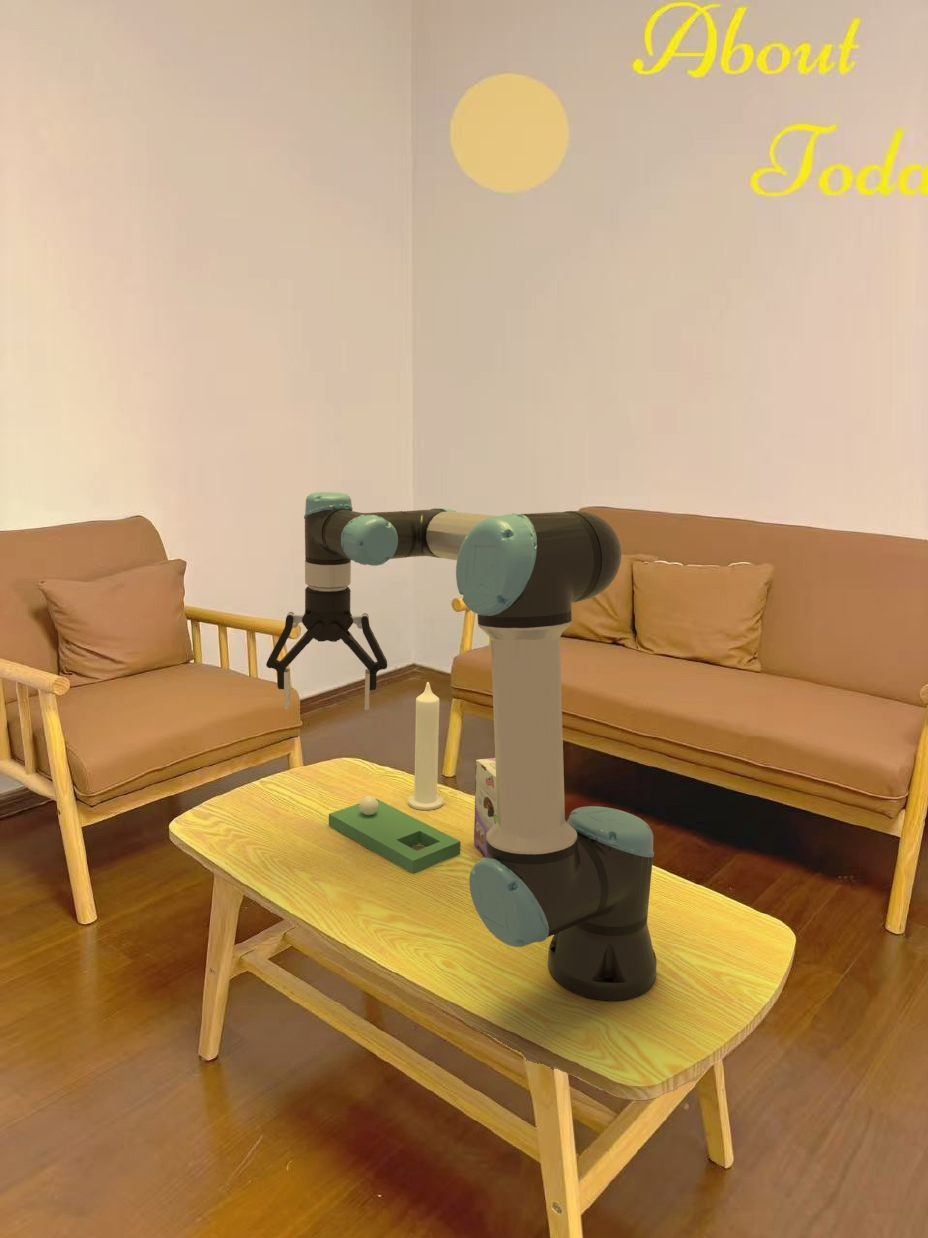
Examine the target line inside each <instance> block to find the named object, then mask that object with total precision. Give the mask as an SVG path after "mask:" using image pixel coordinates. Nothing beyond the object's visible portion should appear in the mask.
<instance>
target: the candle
mask: <svg viewBox="0 0 928 1238" xmlns="http://www.w3.org/2000/svg"><path fill="white" fill-rule="evenodd" d="M439 725H440V698H439V697H438V696H437V695H436V694H434V693H433V691H432V688H431V684H430V682H429V681H427V682H426V684H425V689H424V691H423V693H421V694H419V695H418V696H417V697H416V699H415V730H414V731H415V734H414V735H415V738H414V742H415V743H414V745H415V746H414V786H413V787H414V791H413V792H414V793H413V794H410V795H409V796H408V798H407V804H408V805H409V807H411V808H412V809H415V810H418V811H419V810H420V811H432V810H433V811H434V810H437V809H439V808H441V807H443V805H444V798H443V797H442V795H440V794H438V773H439V772H438V771H439V769H438V767H439V736H440V735H439V730H440V729H439V728H440V726H439Z"/></svg>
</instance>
